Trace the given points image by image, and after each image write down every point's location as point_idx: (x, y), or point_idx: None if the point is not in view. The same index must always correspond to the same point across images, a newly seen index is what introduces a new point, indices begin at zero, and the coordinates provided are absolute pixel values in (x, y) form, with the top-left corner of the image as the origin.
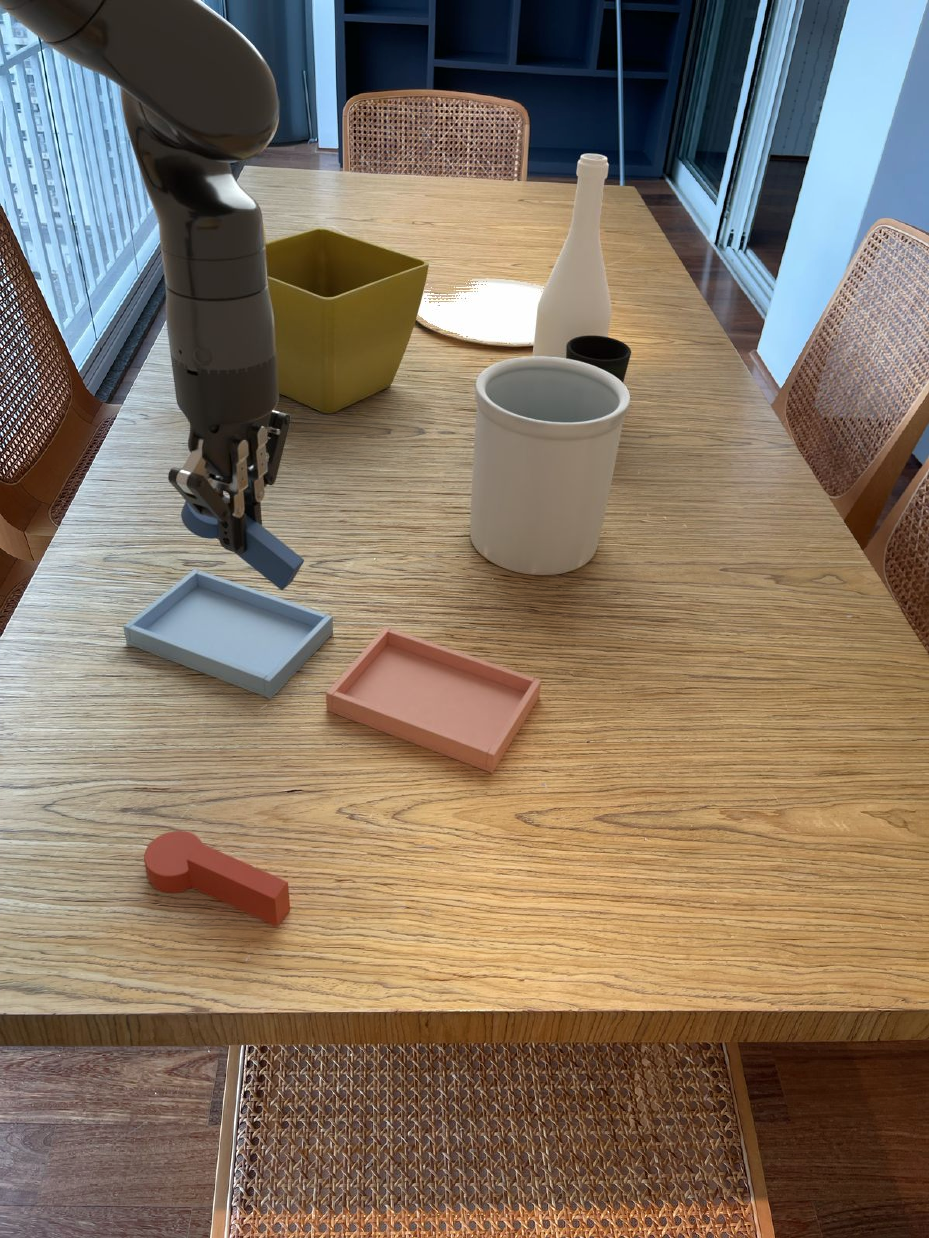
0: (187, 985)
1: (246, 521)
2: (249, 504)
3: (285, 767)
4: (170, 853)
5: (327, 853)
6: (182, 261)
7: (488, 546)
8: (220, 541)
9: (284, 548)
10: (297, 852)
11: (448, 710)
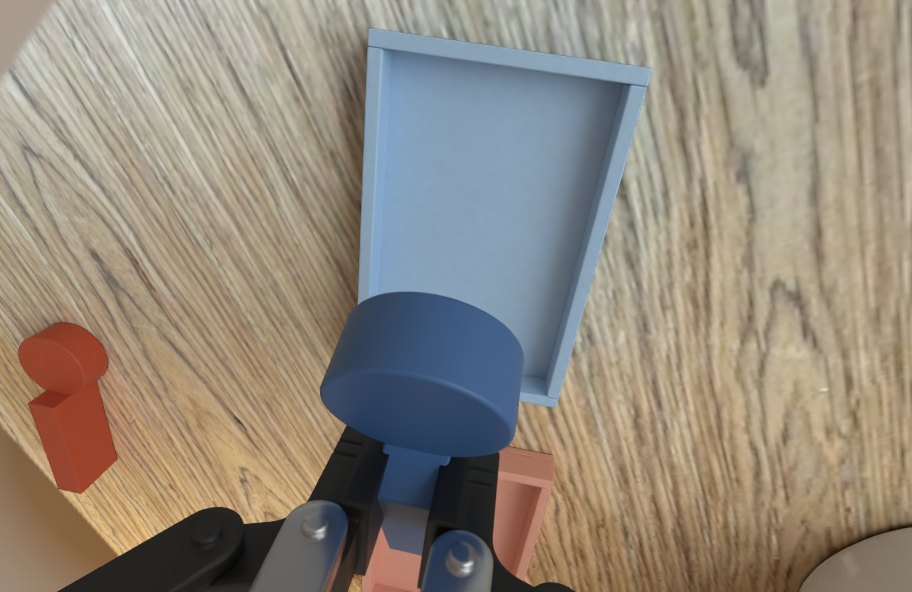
0: (3, 407)
1: (374, 545)
2: (421, 574)
3: (265, 404)
4: (47, 365)
5: (190, 471)
6: None
7: (852, 581)
8: (346, 428)
9: (421, 547)
10: (173, 447)
11: None
